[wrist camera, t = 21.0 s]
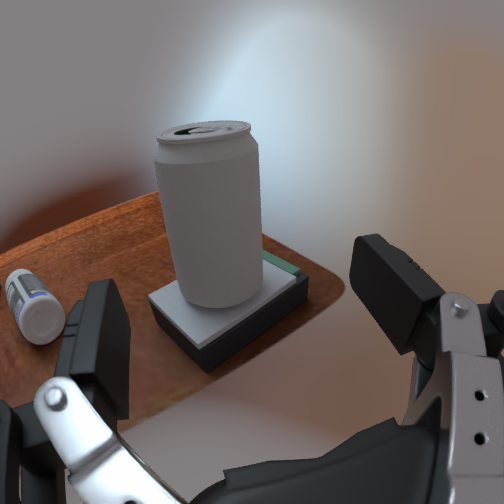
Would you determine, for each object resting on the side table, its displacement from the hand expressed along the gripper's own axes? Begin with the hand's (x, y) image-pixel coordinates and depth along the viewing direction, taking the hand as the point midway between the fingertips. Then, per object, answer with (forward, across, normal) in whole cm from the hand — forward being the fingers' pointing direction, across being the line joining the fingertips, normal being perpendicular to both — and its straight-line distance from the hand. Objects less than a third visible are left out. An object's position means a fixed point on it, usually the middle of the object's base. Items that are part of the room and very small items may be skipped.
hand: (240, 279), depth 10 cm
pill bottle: (+11, +16, +10) cm, 21 cm away
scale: (+11, -1, +12) cm, 16 cm away
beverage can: (+11, 0, +9) cm, 14 cm away
